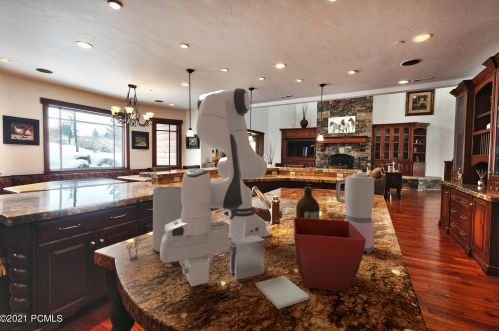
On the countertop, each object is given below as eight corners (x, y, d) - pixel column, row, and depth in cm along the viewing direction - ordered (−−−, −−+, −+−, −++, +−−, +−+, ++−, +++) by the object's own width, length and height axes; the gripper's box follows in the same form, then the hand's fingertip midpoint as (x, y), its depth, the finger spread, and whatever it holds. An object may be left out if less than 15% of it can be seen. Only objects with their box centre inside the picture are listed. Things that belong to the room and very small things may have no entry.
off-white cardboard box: (201, 270, 74) (201, 251, 74) (208, 282, 67) (208, 261, 67) (185, 273, 72) (185, 254, 72) (191, 286, 65) (191, 265, 64)
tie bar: (262, 246, 80) (262, 239, 80) (265, 248, 78) (265, 241, 78) (229, 252, 75) (229, 244, 75) (232, 254, 73) (232, 247, 73)
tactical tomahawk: (279, 246, 103) (279, 244, 103) (294, 245, 104) (293, 243, 104) (288, 267, 82) (288, 264, 82) (307, 266, 83) (307, 263, 83)
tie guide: (256, 266, 81) (257, 235, 81) (264, 273, 77) (264, 239, 76) (229, 272, 77) (230, 239, 77) (236, 280, 72) (236, 244, 72)
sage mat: (283, 278, 74) (283, 275, 74) (309, 298, 63) (309, 295, 63) (255, 285, 69) (255, 282, 69) (278, 309, 58) (278, 305, 58)
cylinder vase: (174, 254, 91) (175, 190, 90) (146, 251, 93) (146, 189, 93) (189, 243, 103) (189, 187, 102) (163, 241, 106) (164, 186, 105)
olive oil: (291, 237, 113) (292, 186, 112) (312, 236, 115) (313, 185, 114) (301, 245, 102) (302, 188, 102) (323, 243, 105) (324, 188, 104)
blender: (376, 247, 101) (378, 173, 101) (372, 256, 91) (374, 175, 91) (338, 239, 110) (340, 172, 110) (331, 247, 101) (332, 173, 100)
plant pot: (365, 301, 62) (367, 238, 62) (293, 293, 65) (294, 233, 65) (348, 268, 81) (349, 220, 81) (292, 263, 84) (293, 217, 84)
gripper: (225, 218, 76) (225, 259, 77) (159, 225, 67) (159, 273, 68) (233, 223, 71) (232, 268, 71) (161, 232, 61) (161, 283, 62)
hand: (196, 270), depth 69 cm, fingers closed on off-white cardboard box, 5 cm apart
